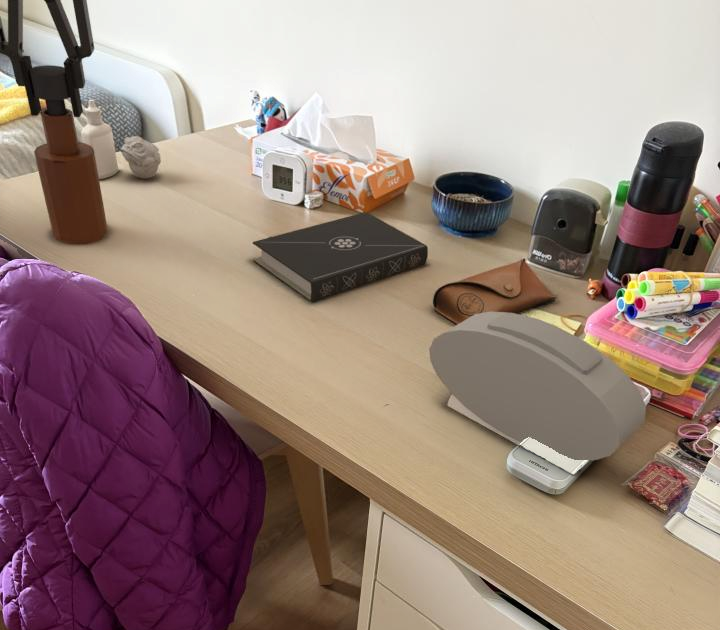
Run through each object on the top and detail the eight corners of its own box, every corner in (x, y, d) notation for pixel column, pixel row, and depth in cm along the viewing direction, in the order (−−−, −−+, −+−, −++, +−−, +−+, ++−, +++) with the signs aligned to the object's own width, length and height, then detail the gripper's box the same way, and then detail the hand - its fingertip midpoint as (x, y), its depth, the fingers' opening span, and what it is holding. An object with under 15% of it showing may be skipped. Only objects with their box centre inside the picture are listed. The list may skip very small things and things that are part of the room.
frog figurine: (116, 177, 125) (110, 135, 121) (149, 168, 130) (144, 127, 125) (138, 187, 123) (132, 145, 118) (171, 178, 127) (166, 136, 122)
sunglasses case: (475, 332, 94) (464, 281, 92) (439, 335, 100) (428, 288, 98) (561, 297, 103) (553, 250, 101) (524, 302, 109) (515, 257, 107)
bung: (35, 120, 95) (25, 74, 92) (42, 109, 99) (33, 64, 95) (72, 121, 96) (64, 75, 92) (79, 110, 99) (71, 66, 96)
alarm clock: (625, 466, 77) (668, 367, 68) (598, 494, 73) (640, 392, 64) (452, 375, 87) (471, 278, 79) (421, 395, 84) (437, 296, 75)
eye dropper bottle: (123, 176, 126) (112, 102, 118) (92, 181, 123) (78, 105, 115) (115, 168, 129) (103, 95, 120) (83, 172, 126) (69, 98, 118)
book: (312, 303, 98) (313, 283, 96) (252, 261, 106) (252, 241, 104) (427, 265, 109) (429, 246, 107) (365, 229, 117) (366, 211, 115)
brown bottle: (48, 243, 105) (19, 119, 94) (58, 221, 111) (32, 102, 99) (103, 244, 106) (81, 122, 95) (110, 222, 112) (90, 104, 100)
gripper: (98, -105, 85) (128, 107, 101) (-61, -116, 83) (-5, 102, 99) (87, -99, 80) (121, 124, 96) (-83, -111, 78) (-19, 119, 93)
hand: (57, 112), depth 97 cm, fingers closed on bung, 5 cm apart
